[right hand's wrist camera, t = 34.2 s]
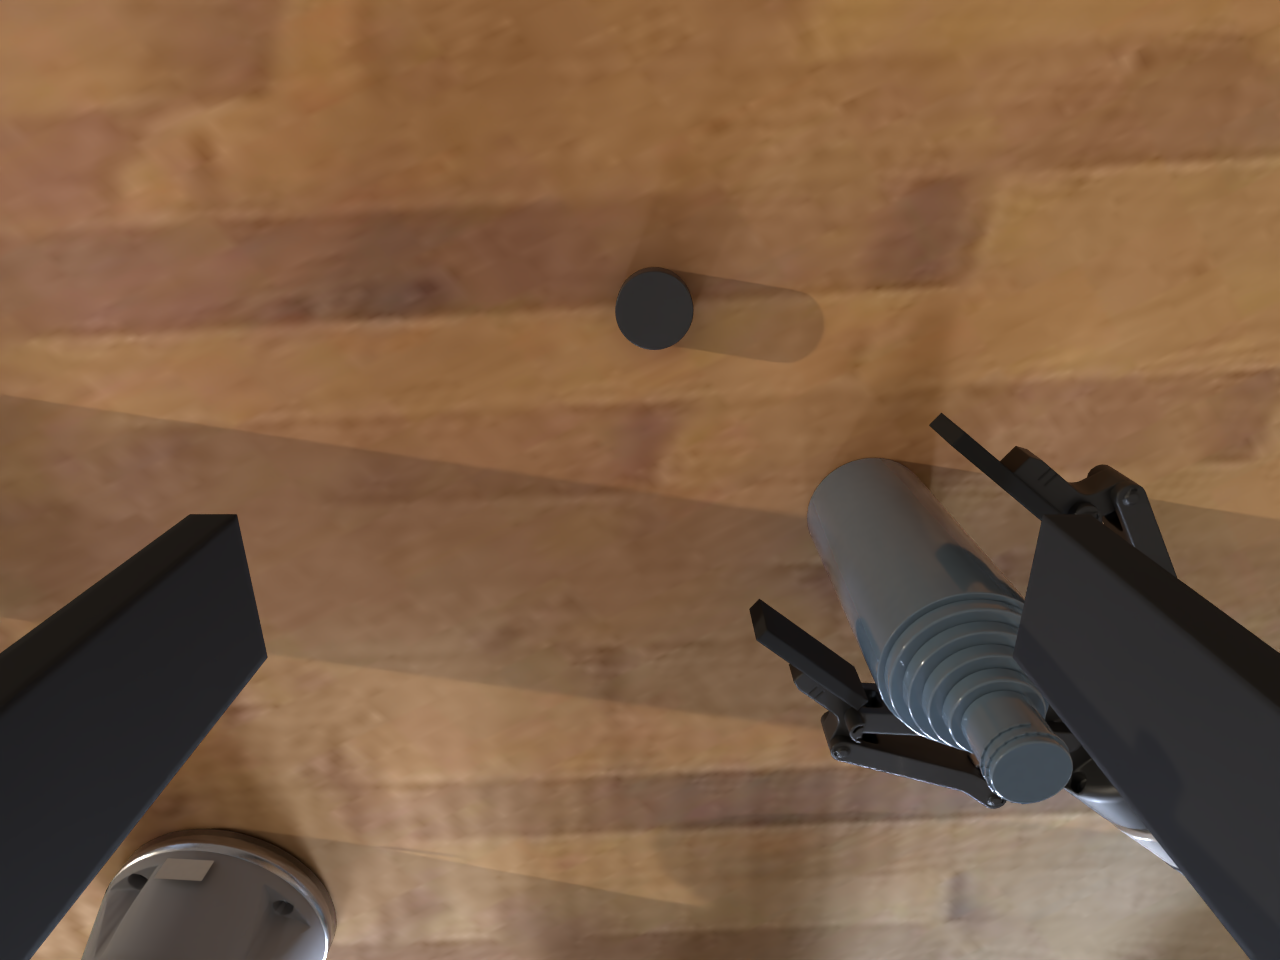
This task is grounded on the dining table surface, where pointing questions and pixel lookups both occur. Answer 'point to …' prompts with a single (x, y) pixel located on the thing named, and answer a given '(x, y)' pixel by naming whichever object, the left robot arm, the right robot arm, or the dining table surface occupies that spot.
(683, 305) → the cap
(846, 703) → the left robot arm
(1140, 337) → the dining table surface
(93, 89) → the dining table surface
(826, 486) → the bottle
